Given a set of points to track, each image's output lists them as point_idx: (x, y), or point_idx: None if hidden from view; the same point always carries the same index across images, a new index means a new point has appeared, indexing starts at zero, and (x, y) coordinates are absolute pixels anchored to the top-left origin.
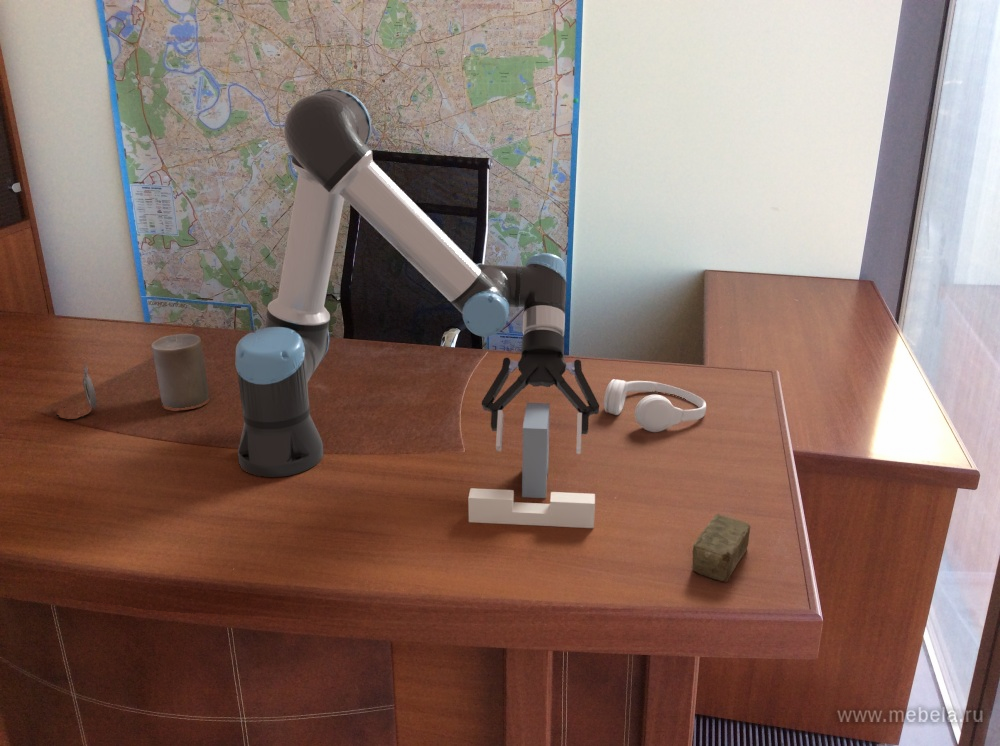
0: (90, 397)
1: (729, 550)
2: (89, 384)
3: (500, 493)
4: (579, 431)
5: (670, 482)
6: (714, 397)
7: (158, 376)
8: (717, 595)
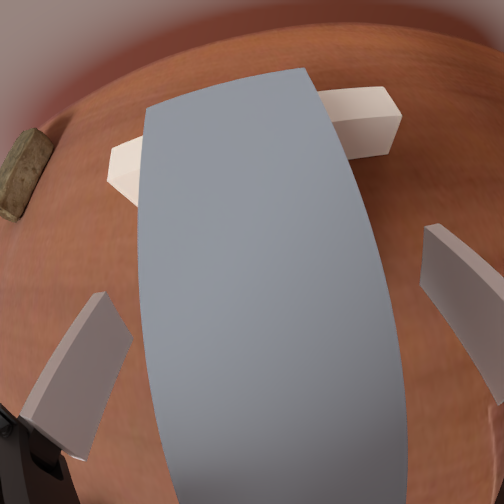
0: None
1: (15, 141)
2: None
3: (326, 109)
4: (64, 342)
5: (39, 368)
6: None
7: None
8: (51, 128)
